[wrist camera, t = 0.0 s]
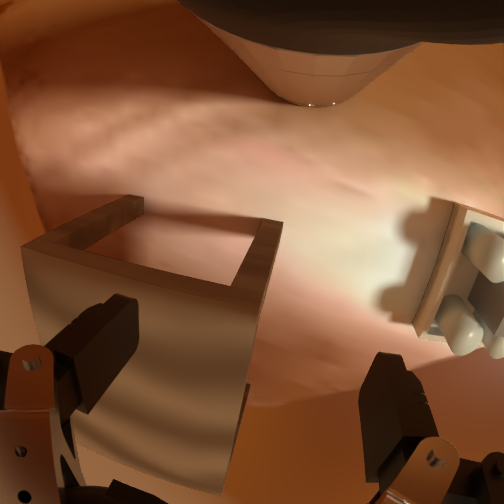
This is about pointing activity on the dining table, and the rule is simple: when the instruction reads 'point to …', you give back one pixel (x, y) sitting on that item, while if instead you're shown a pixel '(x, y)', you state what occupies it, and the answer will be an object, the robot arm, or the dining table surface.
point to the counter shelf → (158, 347)
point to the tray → (467, 286)
